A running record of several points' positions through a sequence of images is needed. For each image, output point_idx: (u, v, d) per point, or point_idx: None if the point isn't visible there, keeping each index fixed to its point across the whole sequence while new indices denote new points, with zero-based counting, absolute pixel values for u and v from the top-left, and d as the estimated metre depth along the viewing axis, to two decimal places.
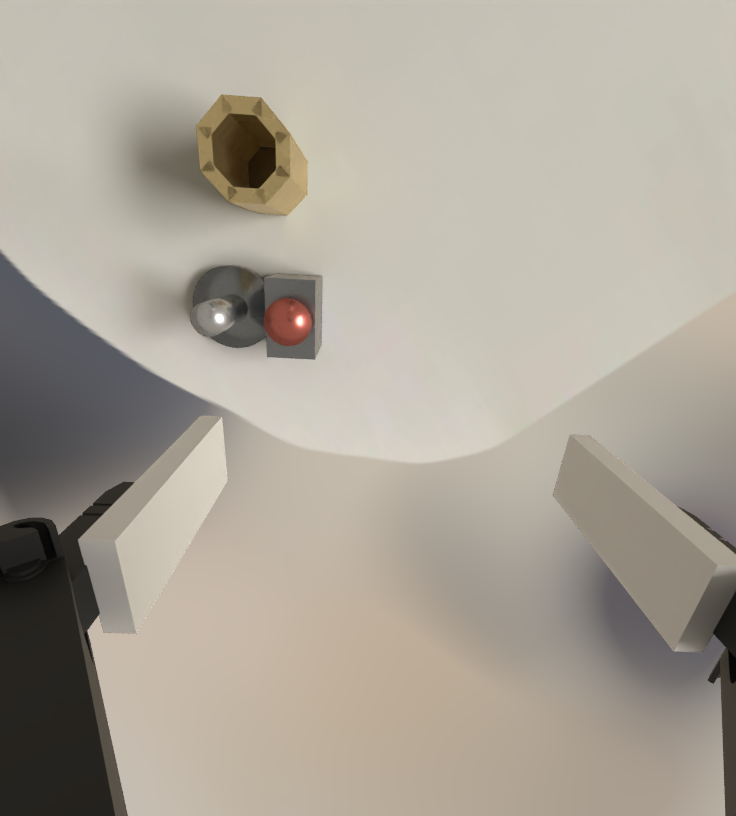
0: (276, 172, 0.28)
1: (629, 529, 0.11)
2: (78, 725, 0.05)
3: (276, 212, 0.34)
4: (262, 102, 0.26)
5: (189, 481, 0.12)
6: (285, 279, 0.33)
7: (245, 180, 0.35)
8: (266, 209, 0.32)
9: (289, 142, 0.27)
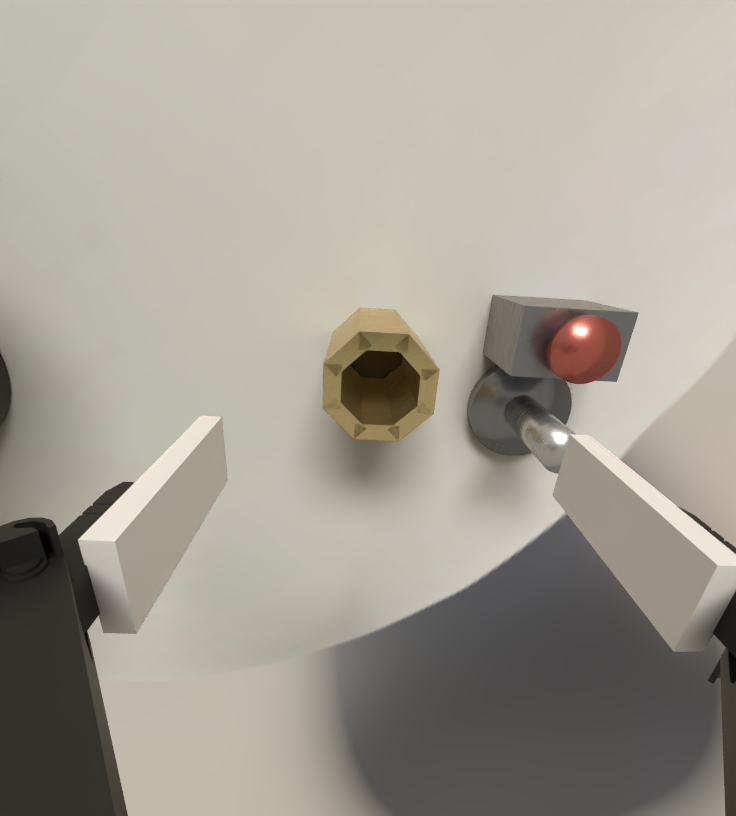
0: (403, 351, 0.21)
1: (629, 529, 0.11)
2: (78, 725, 0.05)
3: None
4: (328, 362, 0.21)
5: (189, 481, 0.12)
6: (517, 348, 0.24)
7: (381, 382, 0.30)
8: None
9: (369, 332, 0.21)
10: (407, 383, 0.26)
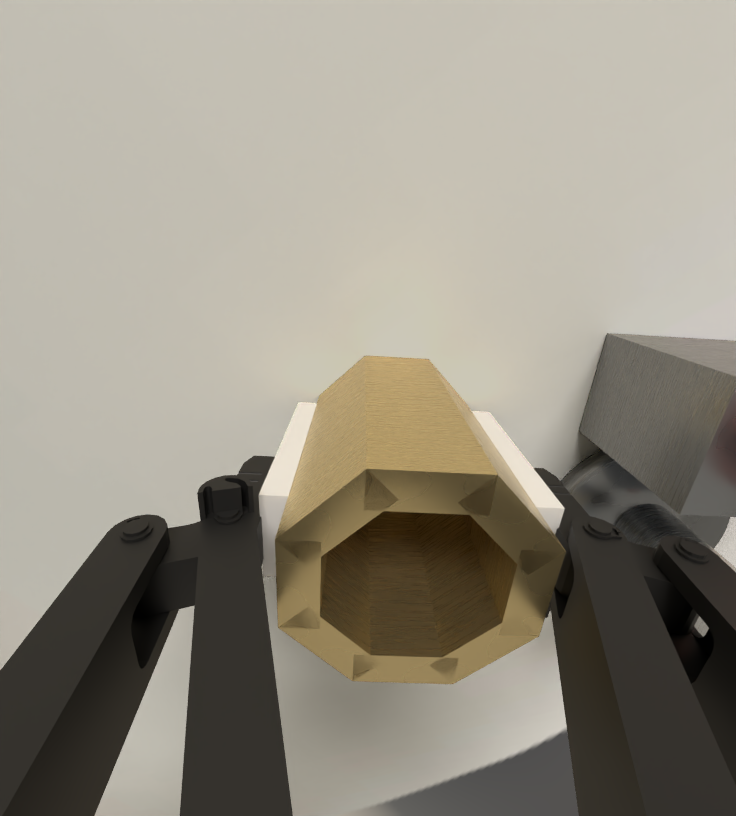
0: (478, 514, 0.08)
1: None
2: (259, 655, 0.06)
3: None
4: (286, 537, 0.08)
5: None
6: (704, 462, 0.11)
7: None
8: None
9: (393, 470, 0.08)
10: (458, 513, 0.13)
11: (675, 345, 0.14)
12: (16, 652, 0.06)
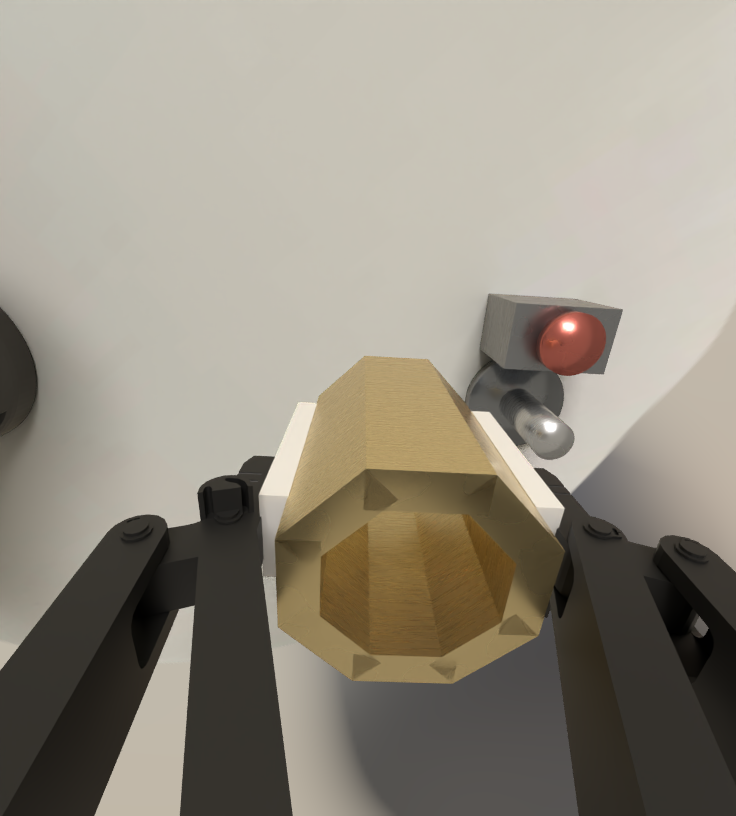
0: (477, 514, 0.08)
1: None
2: (259, 655, 0.06)
3: None
4: (286, 537, 0.08)
5: None
6: (510, 342, 0.26)
7: None
8: None
9: (393, 470, 0.08)
10: None
11: (515, 297, 0.29)
12: (16, 652, 0.06)
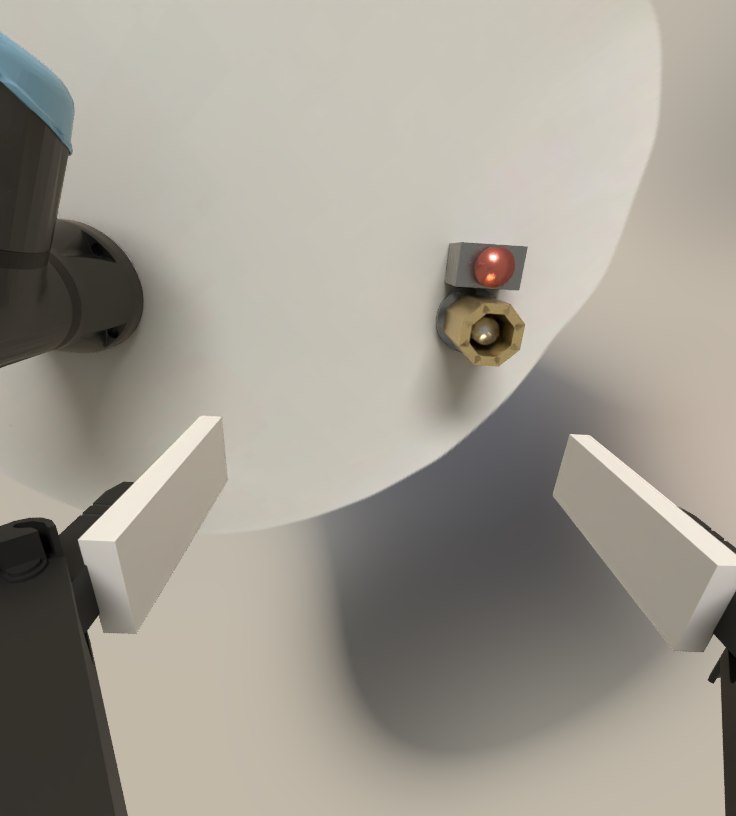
0: (506, 314, 0.39)
1: (629, 529, 0.11)
2: (78, 725, 0.05)
3: None
4: (465, 320, 0.39)
5: (189, 481, 0.11)
6: (458, 268, 0.41)
7: (474, 340, 0.48)
8: None
9: (489, 303, 0.39)
10: (497, 337, 0.44)
11: None
12: None
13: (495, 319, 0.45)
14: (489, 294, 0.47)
